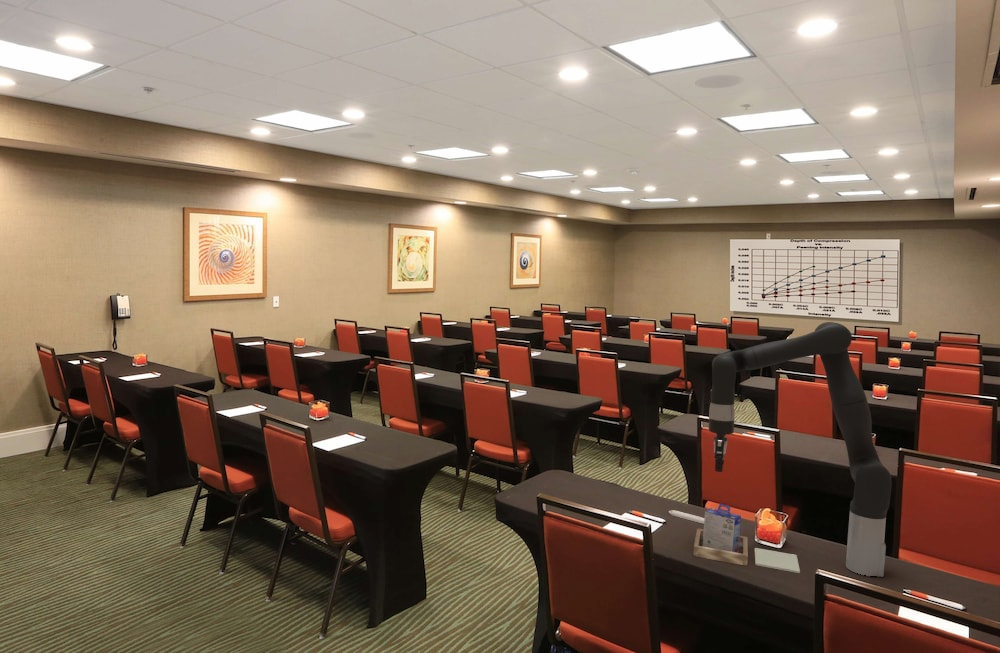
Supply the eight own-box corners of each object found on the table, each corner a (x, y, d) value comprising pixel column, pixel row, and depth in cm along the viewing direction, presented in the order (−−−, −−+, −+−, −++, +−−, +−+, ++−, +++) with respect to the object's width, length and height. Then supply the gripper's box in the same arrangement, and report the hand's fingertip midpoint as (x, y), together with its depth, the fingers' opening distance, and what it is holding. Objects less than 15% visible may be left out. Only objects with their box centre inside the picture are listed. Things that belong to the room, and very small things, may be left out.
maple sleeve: (746, 546, 196) (747, 537, 195) (747, 565, 181) (747, 556, 181) (696, 537, 201) (697, 528, 201) (693, 555, 187) (693, 546, 187)
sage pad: (796, 556, 189) (796, 555, 189) (799, 573, 178) (800, 571, 178) (754, 549, 193) (754, 547, 193) (755, 565, 182) (755, 563, 182)
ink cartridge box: (739, 553, 190) (742, 508, 189) (732, 558, 186) (735, 512, 185) (708, 543, 197) (711, 499, 196) (701, 548, 192) (704, 504, 192)
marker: (667, 515, 221) (667, 509, 221) (669, 513, 223) (670, 507, 223) (717, 528, 210) (717, 522, 210) (719, 527, 212) (719, 520, 211)
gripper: (733, 423, 184) (731, 475, 185) (735, 414, 197) (732, 463, 198) (707, 420, 187) (705, 472, 188) (710, 412, 200) (708, 460, 201)
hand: (719, 467), depth 193 cm, fingers open, 8 cm apart
